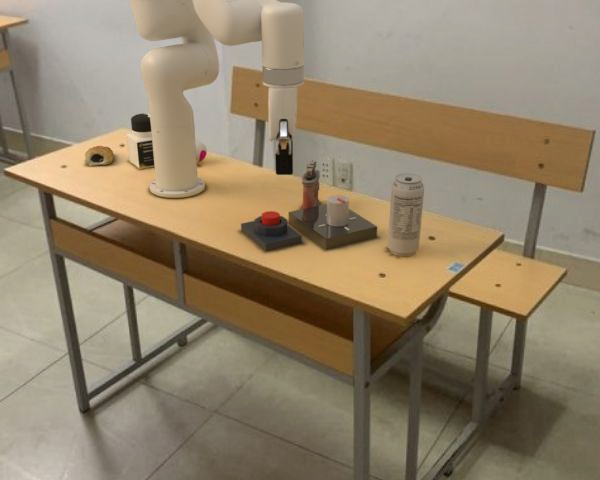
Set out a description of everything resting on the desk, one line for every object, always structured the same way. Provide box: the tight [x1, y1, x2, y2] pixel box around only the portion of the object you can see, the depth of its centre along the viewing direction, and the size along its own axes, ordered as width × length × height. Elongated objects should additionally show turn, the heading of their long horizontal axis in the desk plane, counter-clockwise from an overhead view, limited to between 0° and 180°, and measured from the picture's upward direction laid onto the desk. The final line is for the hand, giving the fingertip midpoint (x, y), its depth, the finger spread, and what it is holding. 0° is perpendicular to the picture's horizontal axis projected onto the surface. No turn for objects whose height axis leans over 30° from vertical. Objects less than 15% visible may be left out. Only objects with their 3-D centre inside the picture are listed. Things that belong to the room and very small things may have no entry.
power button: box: [261, 210, 281, 226], centre depth 154 cm, size 4×4×2 cm
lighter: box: [301, 160, 321, 209], centre depth 166 cm, size 8×3×10 cm, turn 168°
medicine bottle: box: [126, 113, 155, 170], centre depth 191 cm, size 7×7×12 cm
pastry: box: [84, 145, 115, 167], centre depth 194 cm, size 9×7×4 cm
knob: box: [326, 194, 350, 227], centre depth 155 cm, size 4×4×5 cm
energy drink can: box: [387, 173, 425, 258], centre depth 147 cm, size 6×6×15 cm
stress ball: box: [195, 139, 208, 167], centre depth 193 cm, size 8×8×7 cm
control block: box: [240, 215, 303, 252], centre depth 155 cm, size 11×8×4 cm
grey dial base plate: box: [288, 203, 378, 251], centre depth 158 cm, size 15×12×3 cm
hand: (284, 165), depth 150 cm, fingers open, 9 cm apart
